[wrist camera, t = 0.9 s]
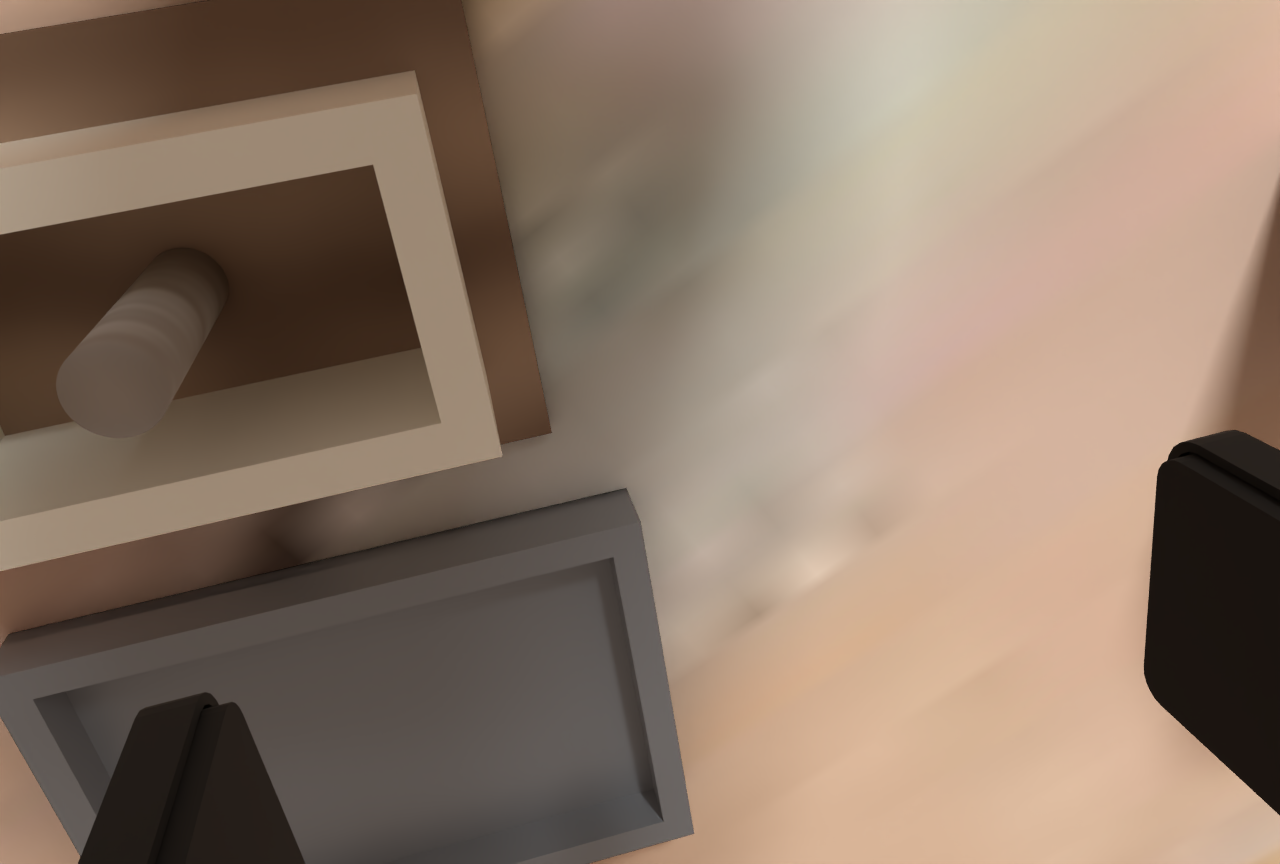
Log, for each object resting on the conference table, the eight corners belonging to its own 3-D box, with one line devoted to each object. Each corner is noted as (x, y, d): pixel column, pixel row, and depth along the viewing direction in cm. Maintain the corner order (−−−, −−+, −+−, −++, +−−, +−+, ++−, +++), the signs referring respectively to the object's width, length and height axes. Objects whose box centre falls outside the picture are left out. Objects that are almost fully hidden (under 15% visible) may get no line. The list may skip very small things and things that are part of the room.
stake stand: (-291, 82, 22) (-614, 132, 15) (452, -40, 25) (470, -45, 17) (-34, 556, 28) (-182, 752, 21) (549, 424, 30) (592, 562, 23)
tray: (8, 634, 29) (-20, 681, 27) (626, 488, 32) (640, 521, 30) (168, 930, 35) (154, 986, 33) (679, 789, 38) (694, 833, 36)
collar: (-182, 175, 23) (-339, 229, 18) (414, 70, 25) (416, 94, 20) (-23, 484, 27) (-119, 598, 22) (486, 374, 29) (502, 456, 24)
